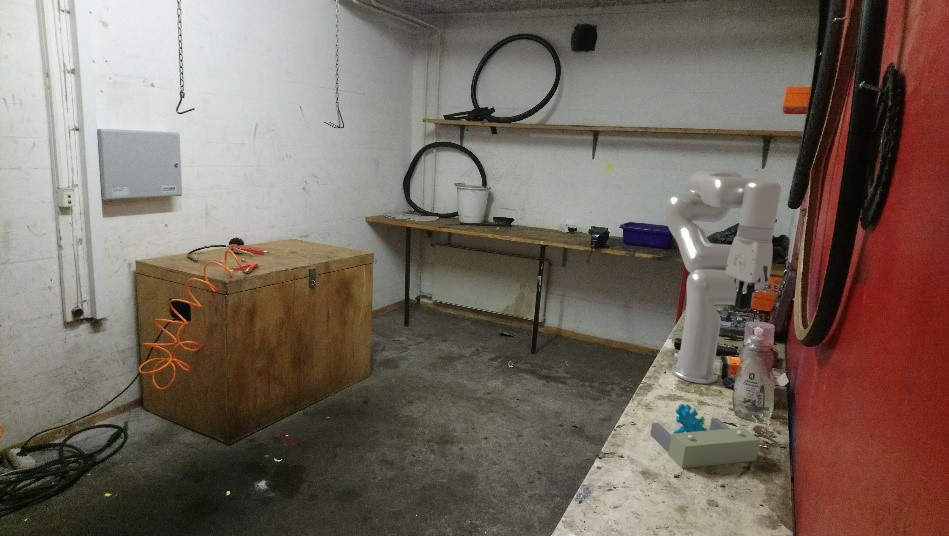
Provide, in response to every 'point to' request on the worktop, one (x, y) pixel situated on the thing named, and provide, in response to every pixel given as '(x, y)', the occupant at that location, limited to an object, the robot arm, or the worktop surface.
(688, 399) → the worktop surface
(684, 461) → the grey-green u-shaped bracket
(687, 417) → the blue bumpy irregular piece
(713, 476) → the worktop surface
